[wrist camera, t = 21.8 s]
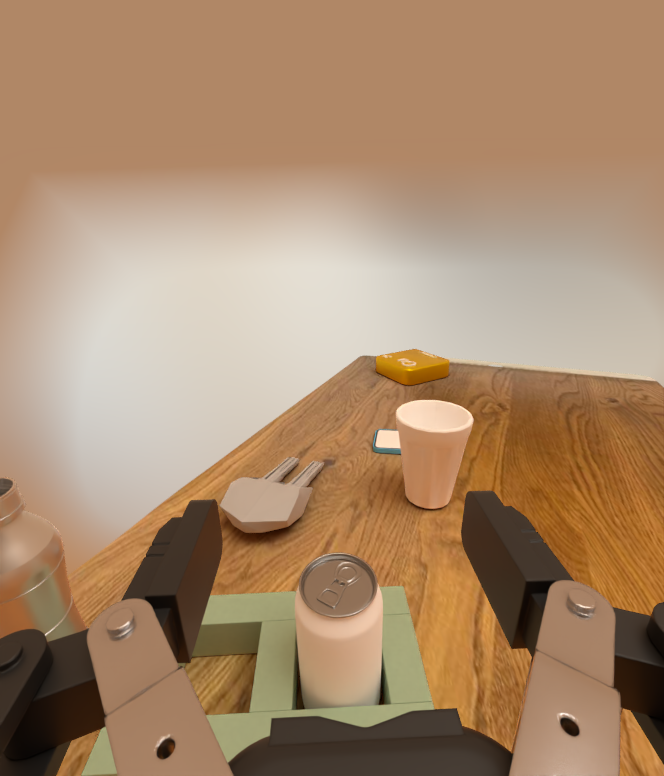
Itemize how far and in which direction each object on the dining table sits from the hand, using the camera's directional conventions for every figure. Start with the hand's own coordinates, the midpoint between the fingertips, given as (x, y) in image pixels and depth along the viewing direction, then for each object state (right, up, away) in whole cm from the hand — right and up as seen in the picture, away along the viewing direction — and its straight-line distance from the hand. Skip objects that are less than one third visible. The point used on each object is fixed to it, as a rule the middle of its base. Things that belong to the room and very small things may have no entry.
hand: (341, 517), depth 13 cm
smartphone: (+15, -6, +58) cm, 60 cm away
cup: (+13, -12, +44) cm, 47 cm away
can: (0, -21, +20) cm, 29 cm away
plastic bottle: (-23, -22, +20) cm, 37 cm away
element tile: (+21, +8, +94) cm, 97 cm away
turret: (-8, -12, +44) cm, 46 cm away
